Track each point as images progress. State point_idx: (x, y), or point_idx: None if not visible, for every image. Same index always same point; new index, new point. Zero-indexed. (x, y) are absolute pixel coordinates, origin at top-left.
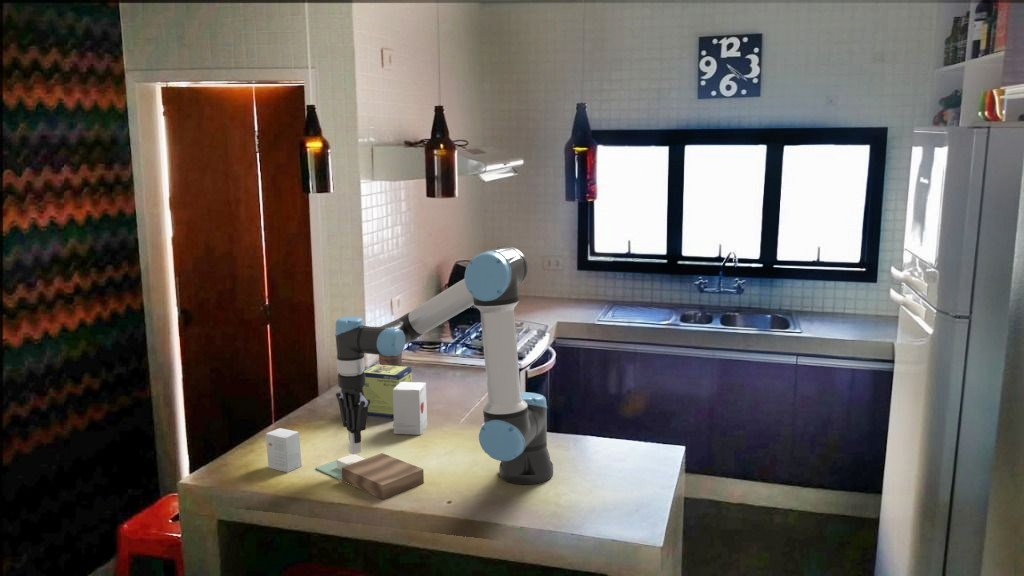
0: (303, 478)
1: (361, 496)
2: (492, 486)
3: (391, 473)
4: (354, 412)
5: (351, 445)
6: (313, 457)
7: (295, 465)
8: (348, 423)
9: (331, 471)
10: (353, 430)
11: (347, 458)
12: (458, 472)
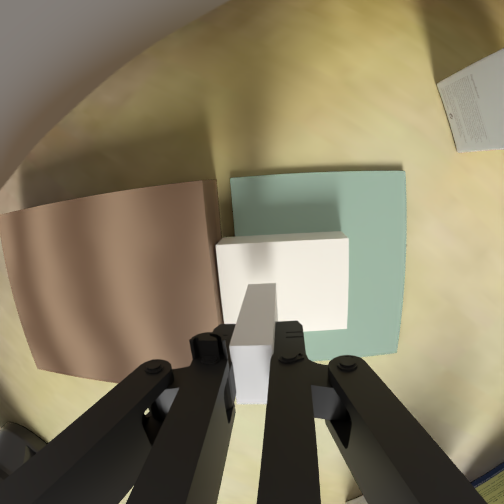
0: (353, 86)
1: (71, 168)
2: (10, 401)
3: (43, 291)
4: (135, 489)
5: (255, 302)
6: (487, 232)
7: (454, 118)
8: (278, 389)
9: (324, 193)
10: (203, 358)
11: (321, 281)
12: None
